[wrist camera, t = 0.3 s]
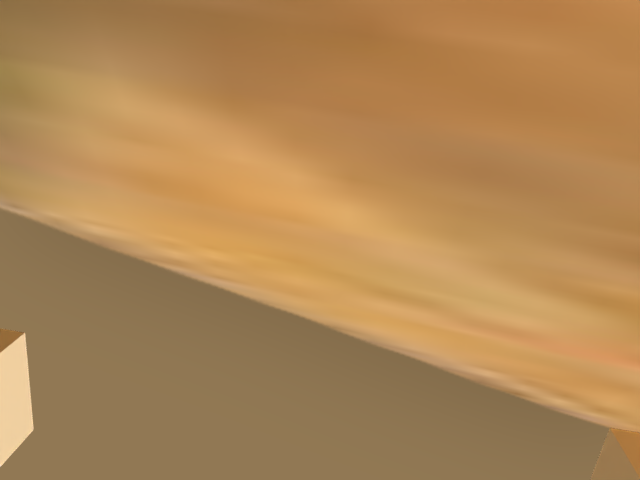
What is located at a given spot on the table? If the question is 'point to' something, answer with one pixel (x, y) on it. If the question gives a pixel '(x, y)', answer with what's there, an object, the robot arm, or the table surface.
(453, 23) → the table surface
